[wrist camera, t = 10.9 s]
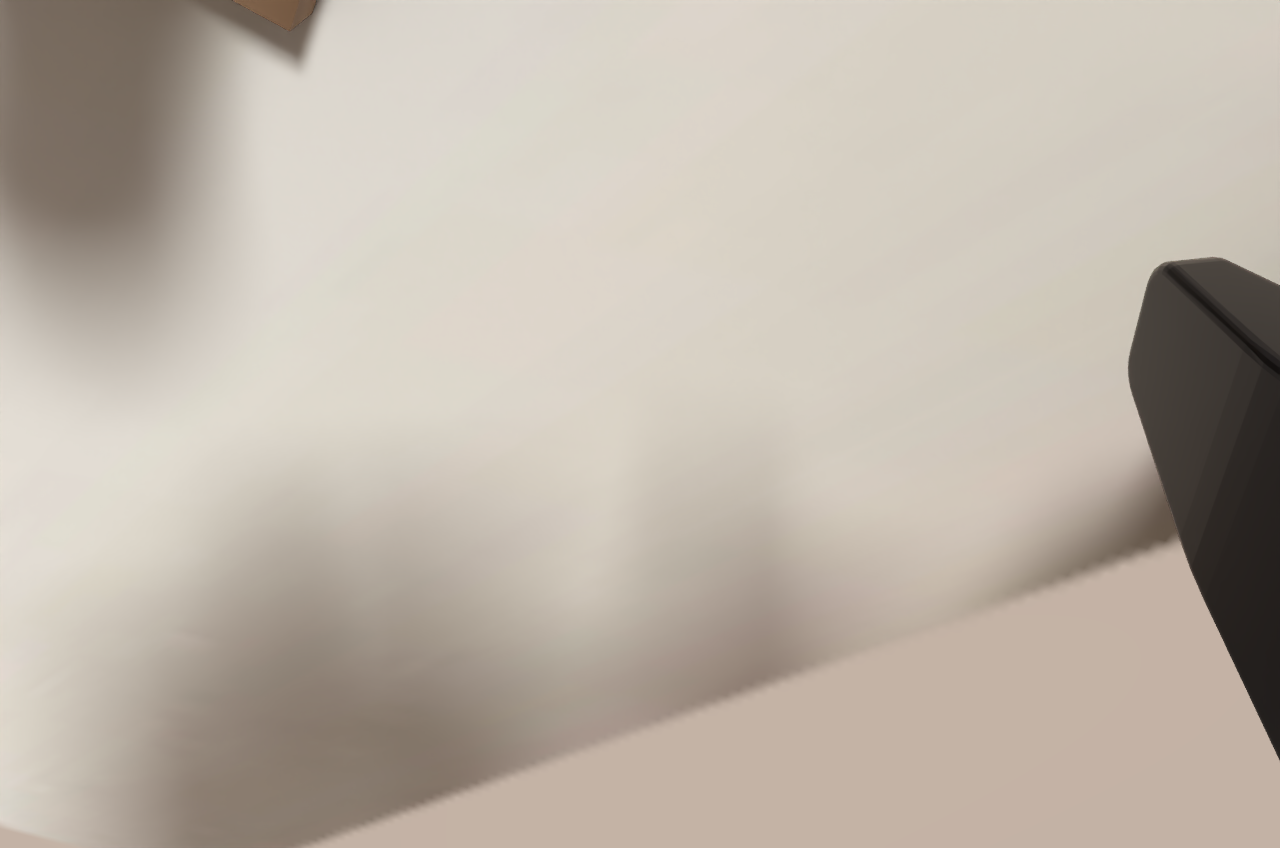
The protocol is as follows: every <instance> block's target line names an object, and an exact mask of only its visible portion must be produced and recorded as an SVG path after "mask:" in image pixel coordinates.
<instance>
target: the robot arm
mask: <svg viewBox="0 0 1280 848" xmlns="http://www.w3.org/2000/svg"><path fill="white" fill-rule="evenodd" d="M1128 376H1129V383H1130V388H1131V392H1132V395H1133V398H1134V401H1135V404H1136V407H1137V410H1138V413H1139V416H1140V419H1141V423H1142V426H1143V429H1144V432H1145V435H1146V438H1147V441H1148V444H1149V447H1150V450H1151V453H1152V456H1153V459H1154V462H1155V465H1156V468H1157V471H1158V474H1159V477H1160V481H1161V484H1162V487H1163V490H1164V493H1165V496H1166V499H1167V502H1168V505H1169V508H1170V511H1171V514H1172V517H1173V520H1174V523H1175V526H1176V529H1177V532H1178V536H1179V539H1180V541H1181V544H1182V547H1183V550H1184V552H1185V555H1186V558H1187V560H1188V563H1189V566H1190V569H1191V571H1192V573H1193V576H1194V578H1195V580H1196V583H1197V585H1198V587H1199V589H1200V592H1201V594H1202V596H1203V598H1204V601H1205V603H1206V605H1207V607H1208V609H1209V611H1210V613H1211V616H1212V618H1213V620H1214V622H1215V624H1216V626H1217V628H1218V630H1219V632H1220V635H1221V637H1222V639H1223V641H1224V643H1225V645H1226V647H1227V650H1228V652H1229V654H1230V656H1231V658H1232V660H1233V662H1234V664H1235V667H1236V669H1237V671H1238V673H1239V675H1240V677H1241V679H1242V681H1243V683H1244V686H1245V688H1246V690H1247V692H1248V694H1249V696H1250V698H1251V700H1252V703H1253V704H1254V707H1255V709H1256V711H1257V713H1258V715H1259V717H1260V720H1261V722H1262V724H1263V726H1264V728H1265V730H1266V732H1267V734H1268V737H1269V738H1270V741H1271V743H1272V745H1273V747H1274V749H1275V751H1276V754H1277V756H1278V758H1279V760H1280V285H1278V284H1276V283H1274V282H1272V281H1270V280H1267V279H1265V278H1263V277H1261V276H1259V275H1257V274H1255V273H1253V272H1251V271H1249V270H1247V269H1244V268H1242V267H1240V266H1238V265H1236V264H1234V263H1232V262H1230V261H1228V260H1225V259H1223V258H1217V257H1209V258H1199V259H1189V260H1180V261H1170V262H1165V263H1163V264H1161V265H1160V266H1158V267H1157V268H1156V269H1155V270H1154V271H1153V273H1152V274H1151V276H1150V278H1149V281H1148V284H1147V287H1146V291H1145V295H1144V299H1143V303H1142V307H1141V311H1140V315H1139V319H1138V323H1137V327H1136V331H1135V335H1134V338H1133V342H1132V346H1131V350H1130V355H1129V362H1128Z"/></svg>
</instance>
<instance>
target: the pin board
mask: <svg viewBox="0 0 1280 848" xmlns="http://www.w3.org/2000/svg"><path fill="white" fill-rule="evenodd" d="M232 1H234V2H236V3H238V4H240V5H242V6H244V7H245V8H247V9H249V10H251V11H253V12H255V13H256V14H258V15H260V16H262V17H264V18H266V19H267V20H269V21H271V22H273V23H275V24H277V25H278V26H280V27H282V28H284V29H286V30H288V31H291V30H292V29H294V28H295V27H296V26H297V25H298V24H300V23H301V22H302V21H303V20H304V19H306V18H307V17H308V16H309V15H310V14H312V12H313V9H314V6H315V3H316V0H232Z"/></svg>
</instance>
